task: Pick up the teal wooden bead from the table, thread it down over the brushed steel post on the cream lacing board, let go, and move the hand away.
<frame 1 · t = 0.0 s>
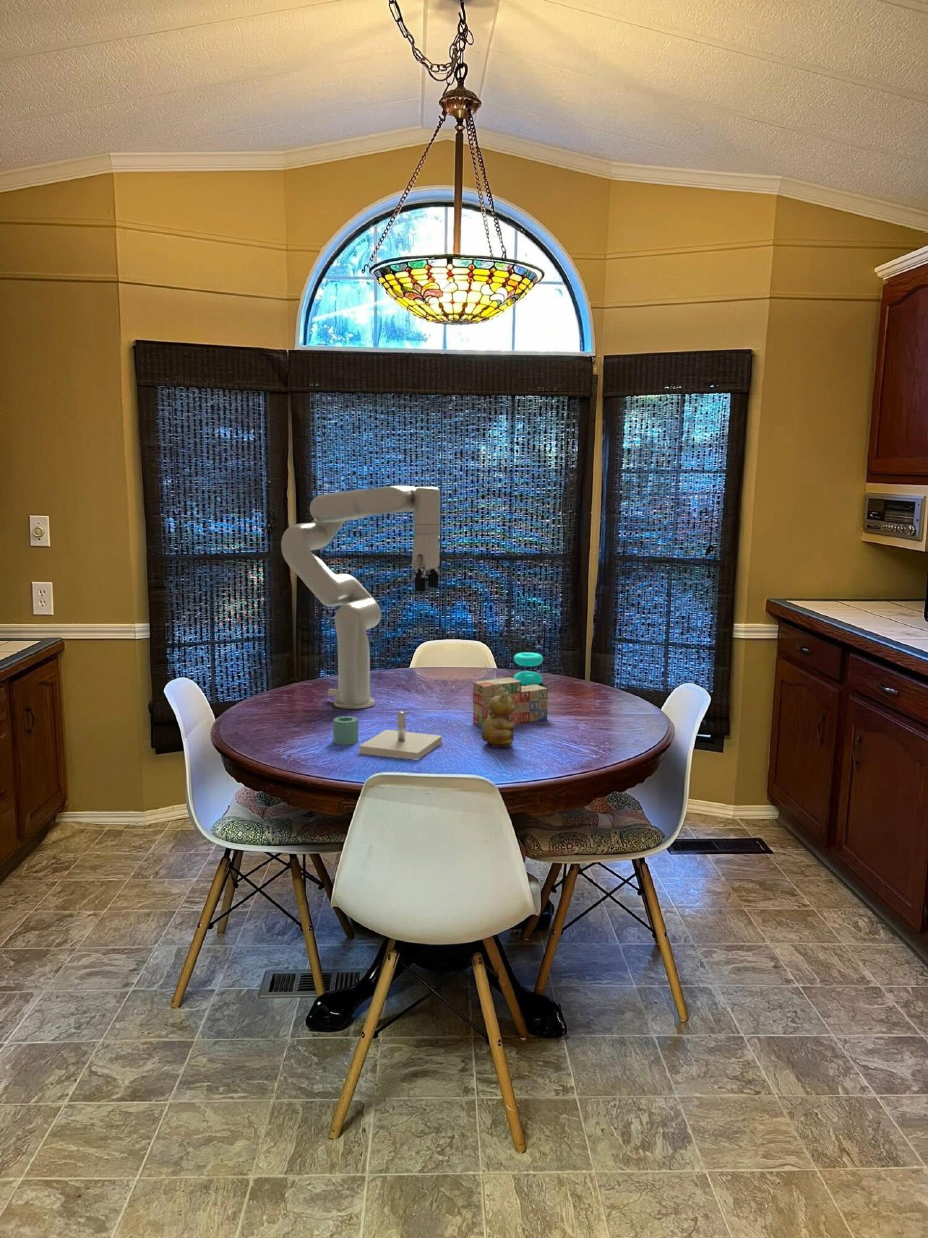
hand: (426, 589, 261), 37 cm above the table, tool pointing down, fingers open, 9 cm apart
water lily: (499, 699, 283), on the table
board: (401, 748, 230), on the table
bead: (345, 741, 236), on the table
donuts: (527, 683, 306), on the table
decorative figurine: (497, 746, 234), on the table
stack of blocks: (510, 722, 257), on the table
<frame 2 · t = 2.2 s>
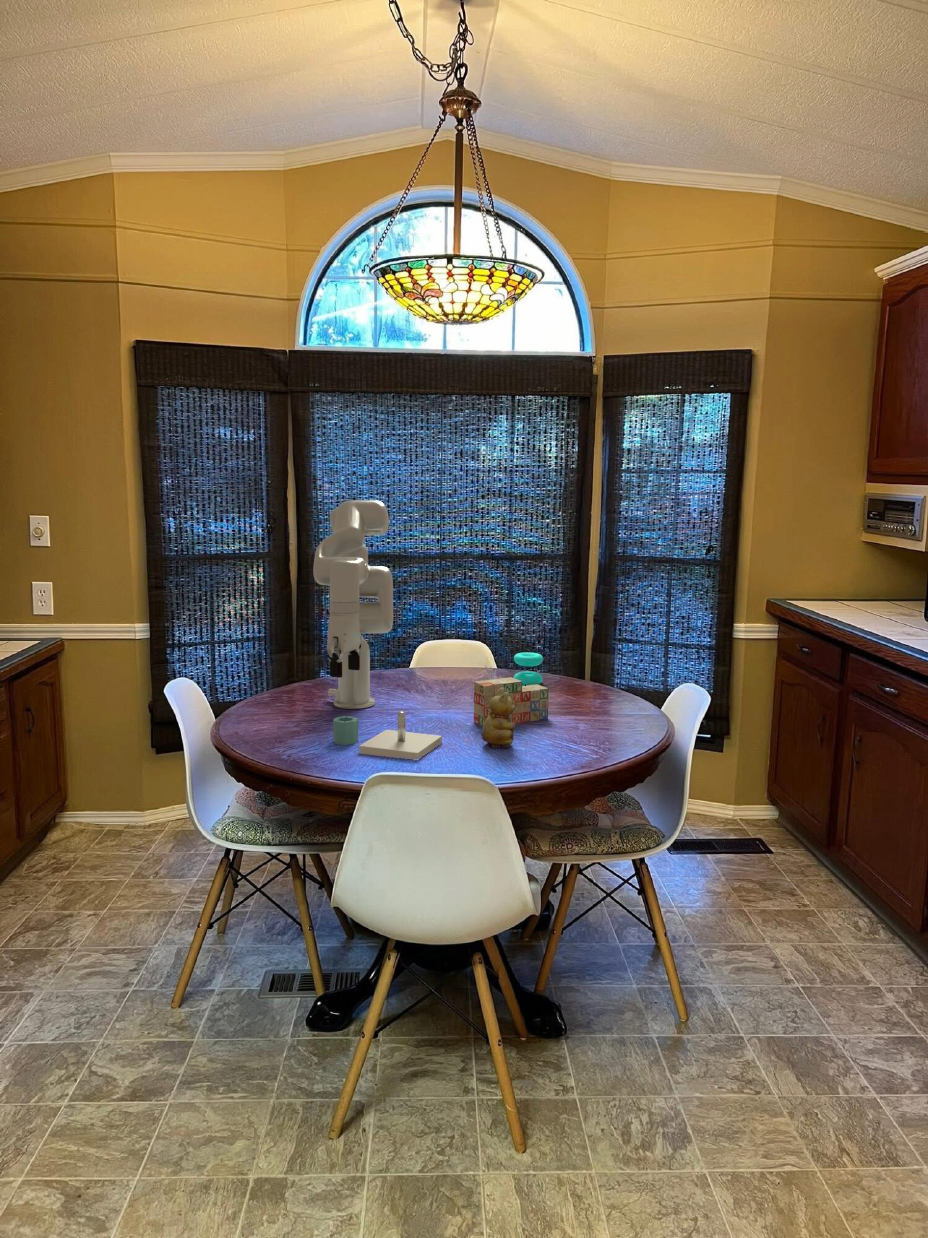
hand: (345, 673, 233), 18 cm above the table, tool pointing down, fingers open, 9 cm apart
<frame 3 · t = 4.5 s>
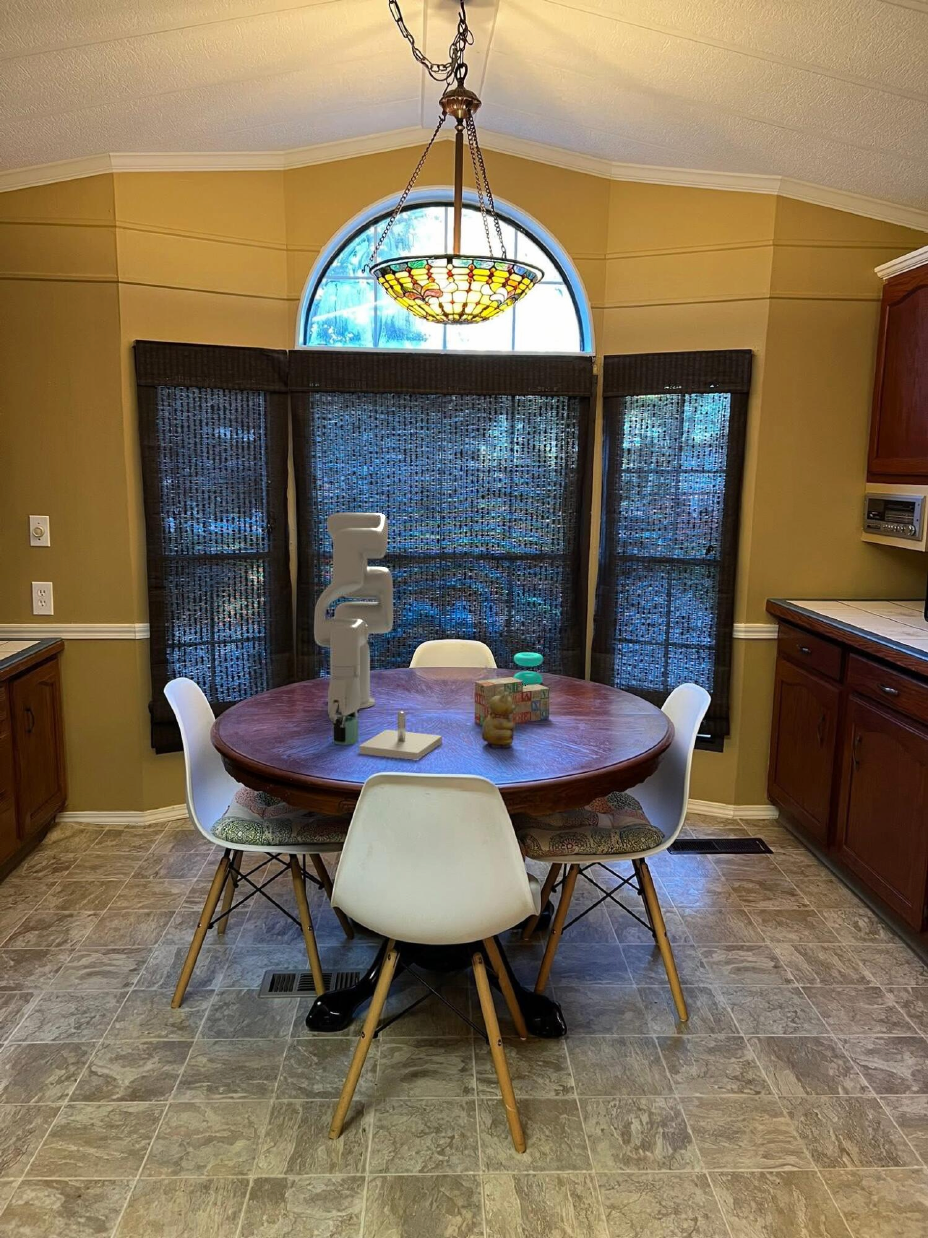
hand: (345, 737, 235), 1 cm above the table, tool pointing down, fingers closed on bead, 6 cm apart
bead: (345, 741, 236), on the table, touching gripper
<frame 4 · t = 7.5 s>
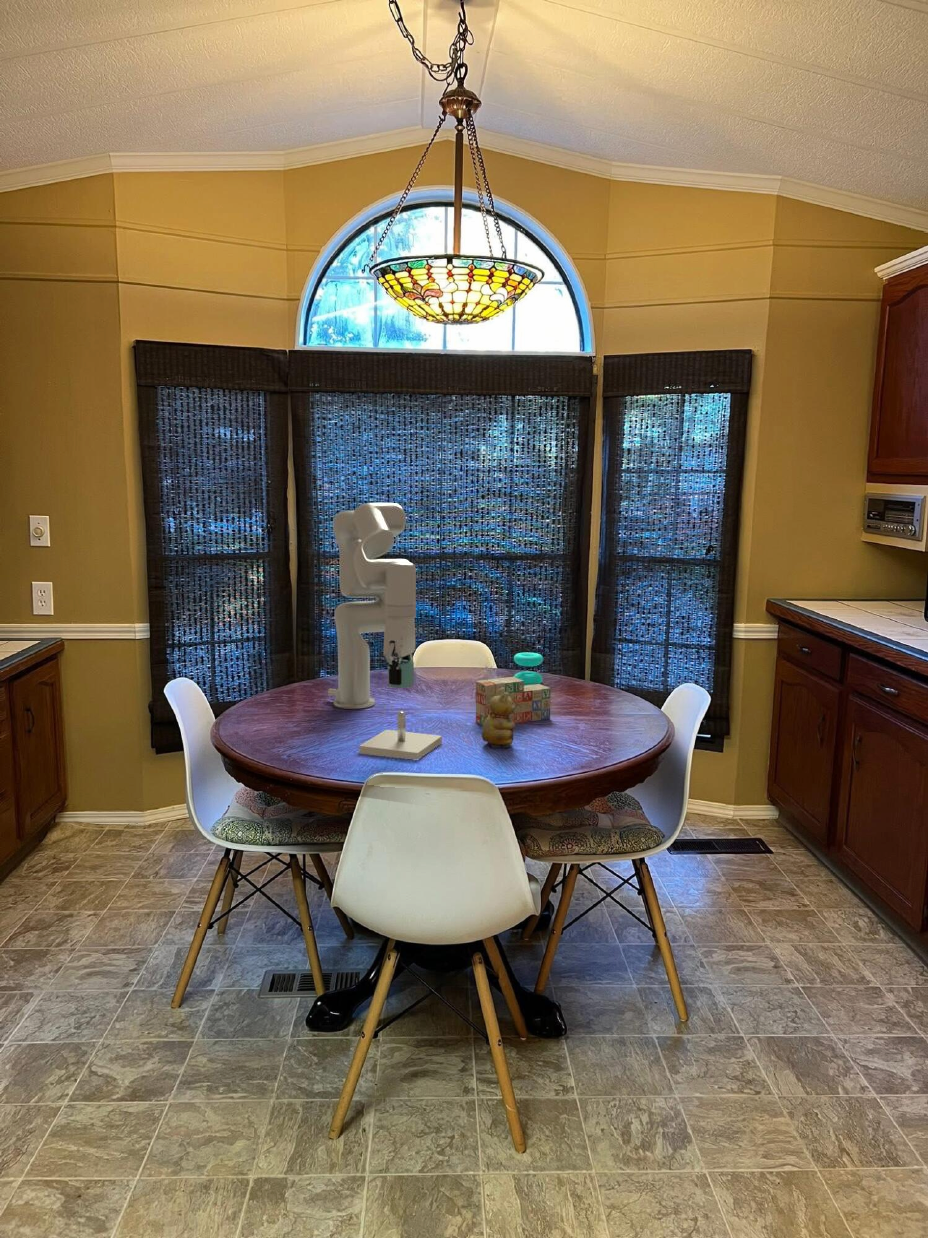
hand: (400, 681, 227), 18 cm above the table, tool pointing down, fingers closed on bead, 6 cm apart
bead: (400, 685, 228), point 17 cm above the table, touching gripper
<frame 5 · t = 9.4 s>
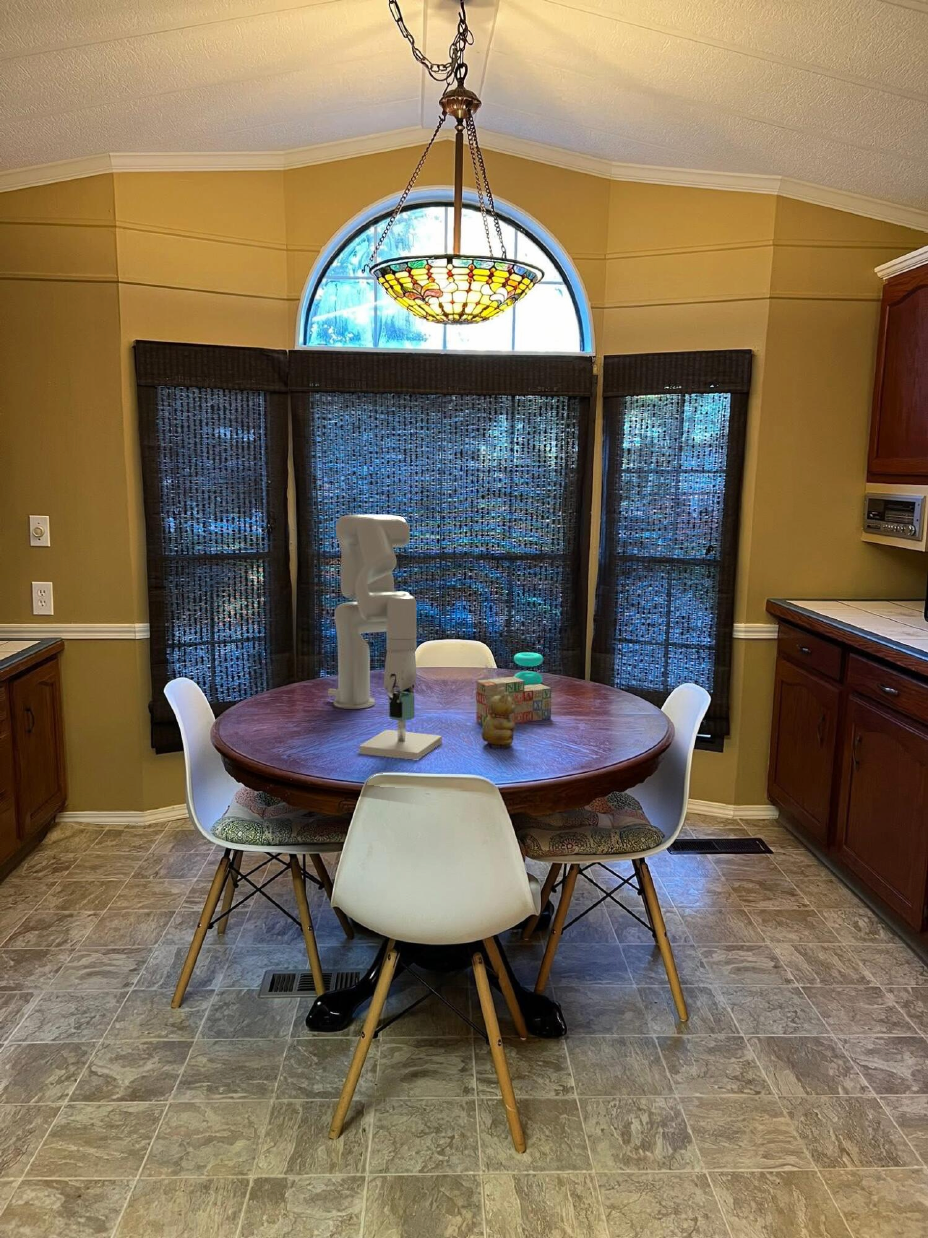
hand: (401, 713, 229), 9 cm above the table, tool pointing down, fingers closed on bead, 6 cm apart
bead: (401, 717, 229), point 8 cm above the table, touching gripper
when the fingers open (5 cm above the table, at t = 10.9 s): bead drops 2 cm, resting on board.
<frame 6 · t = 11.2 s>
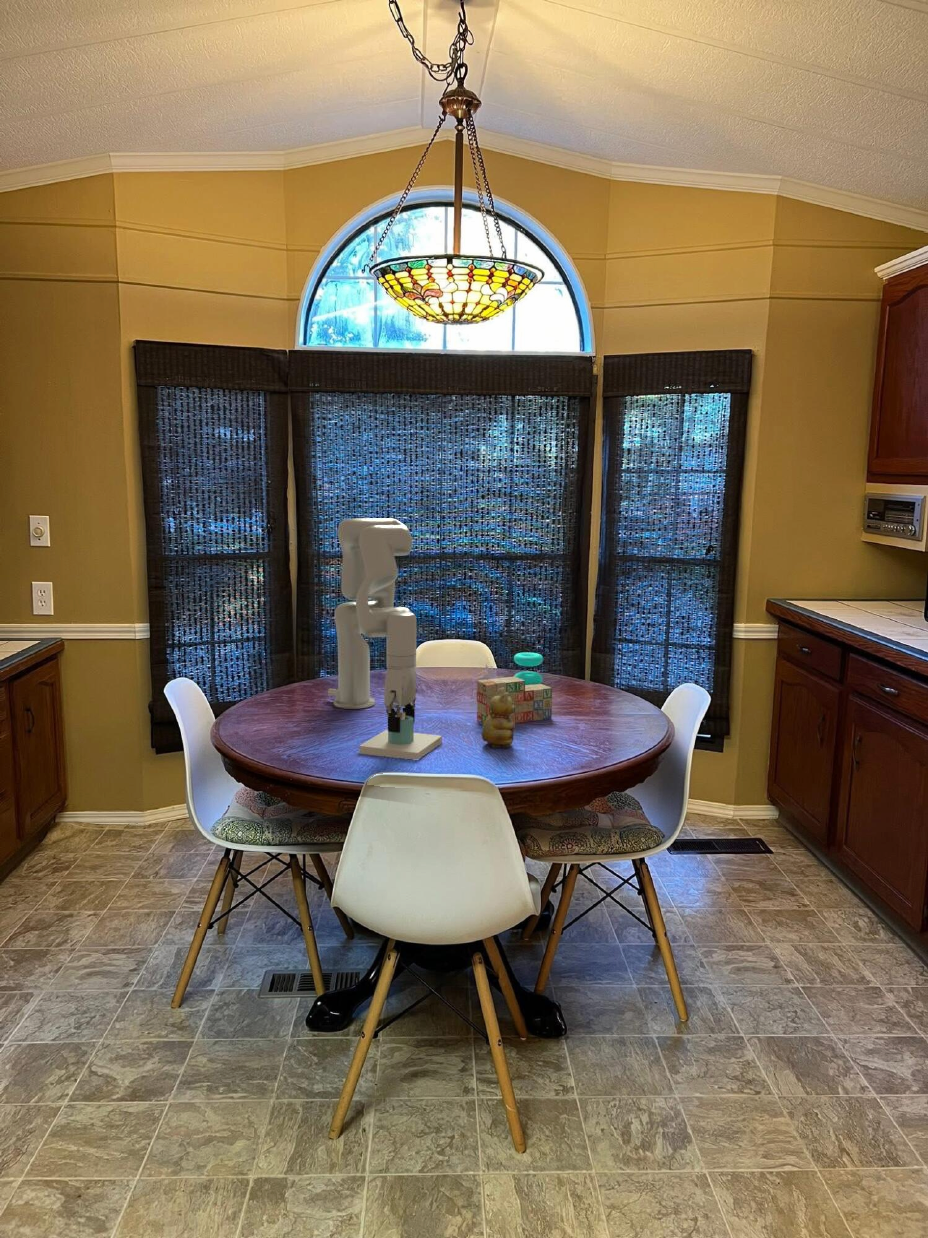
hand: (401, 727, 229), 6 cm above the table, tool pointing down, fingers open, 8 cm apart
bead: (400, 741, 229), point 2 cm above the table, touching board
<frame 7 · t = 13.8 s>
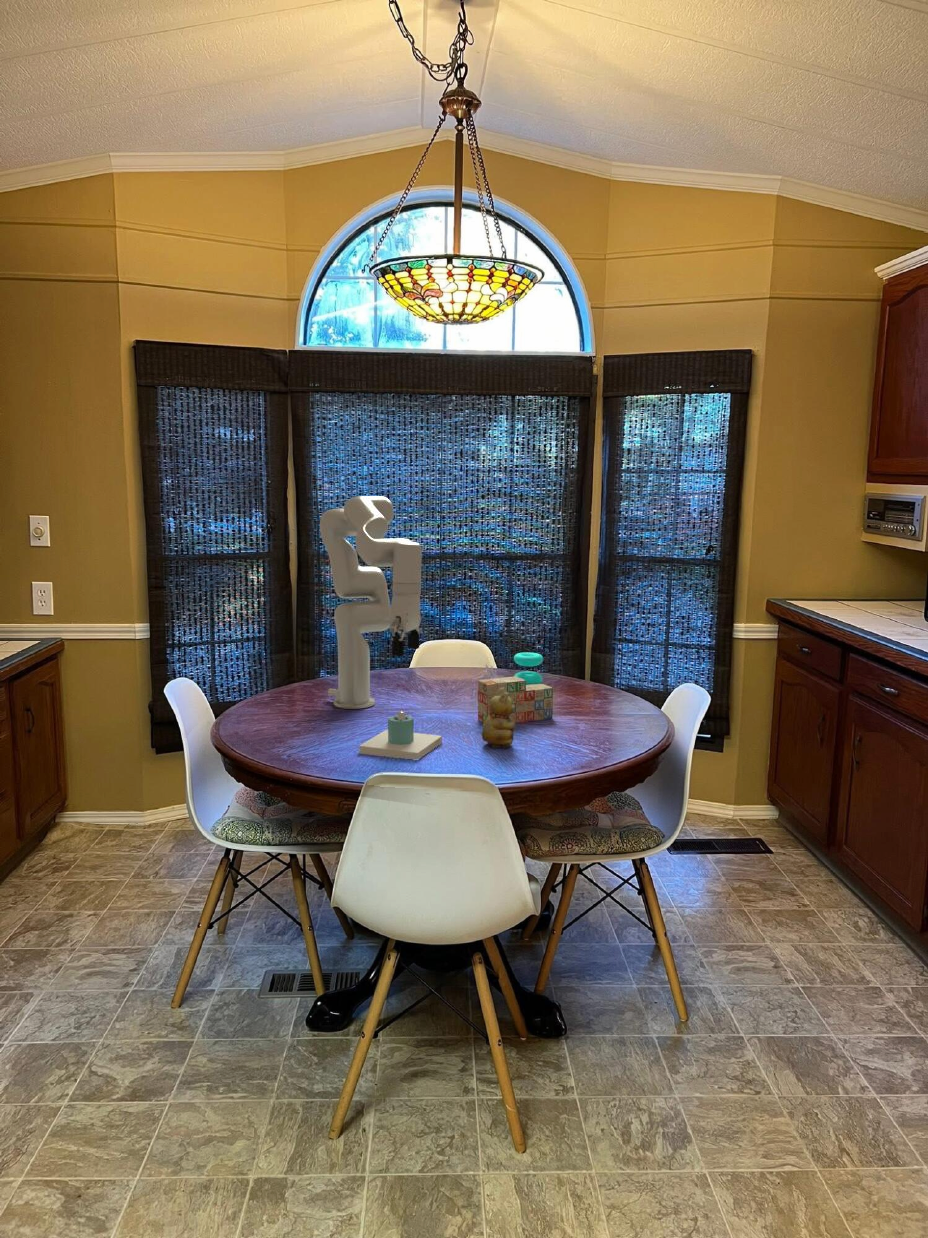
hand: (405, 651, 241), 22 cm above the table, tool pointing down, fingers open, 9 cm apart
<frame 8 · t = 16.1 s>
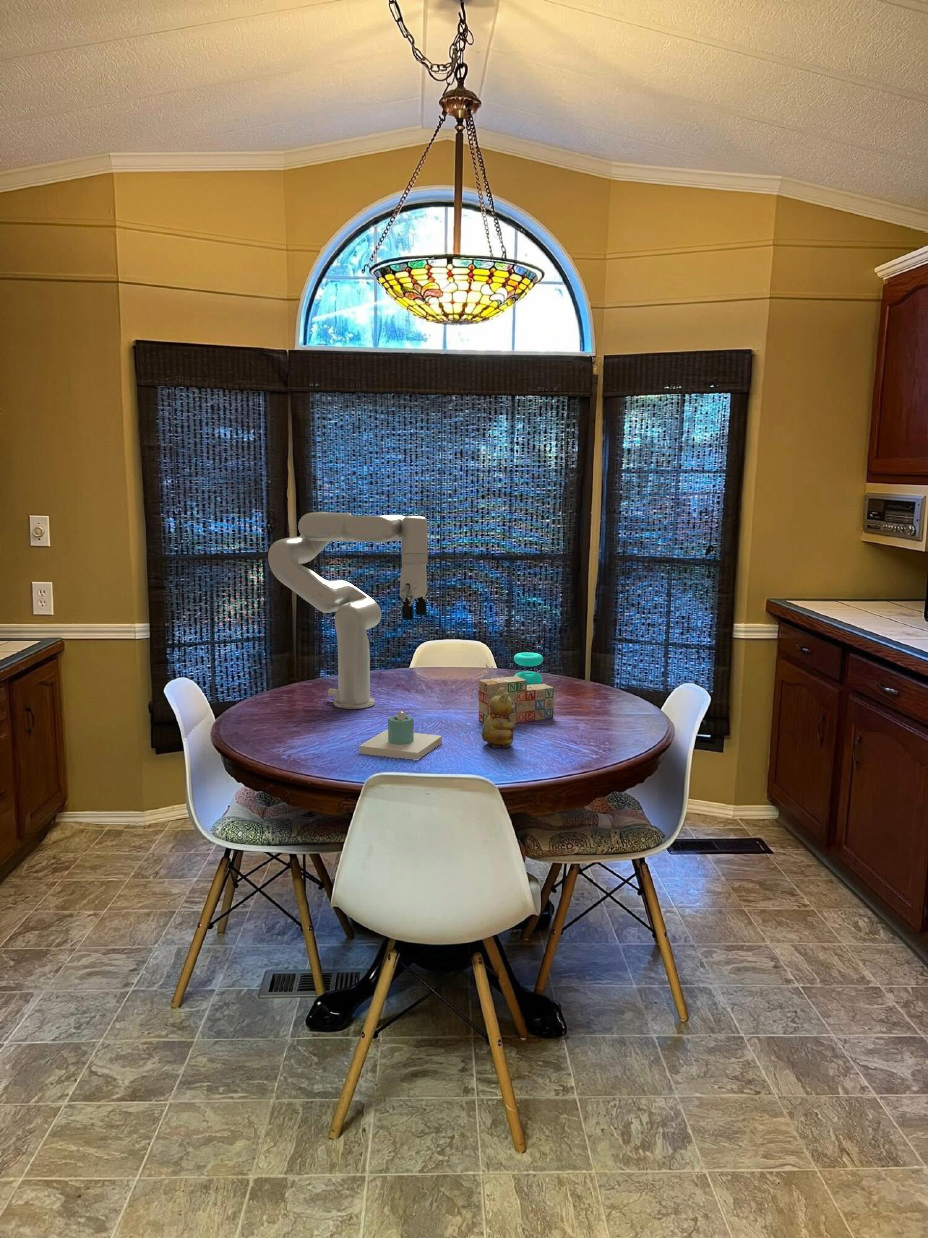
hand: (414, 617, 263), 28 cm above the table, tool pointing down, fingers open, 9 cm apart
at the end: bead 0.3 cm from the board (horizontally); bead point 2.0 cm above the table; the gripper is holding nothing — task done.
